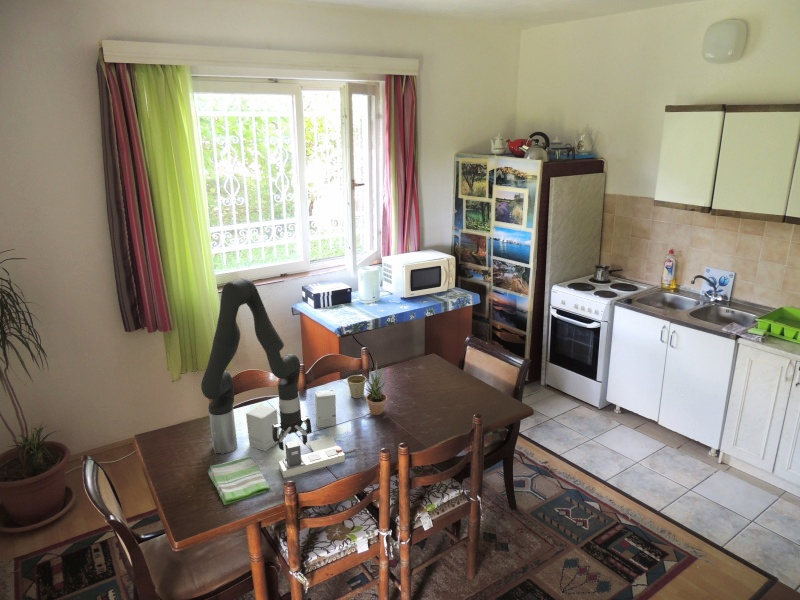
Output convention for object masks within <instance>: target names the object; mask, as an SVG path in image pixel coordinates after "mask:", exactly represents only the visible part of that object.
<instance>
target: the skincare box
mask: <svg viewBox="0 0 800 600" xmlns="http://www.w3.org/2000/svg"><path fill="white" fill-rule="evenodd" d="M314 398H315V399H314V400H315V401H314V402H315V422H316V426H317V428H318V429H321V428H327V427H335V426H337V410H336V409H337V408H336V406H337V403H336V402H337V401H336V393H335V391H334V389H329V390H328V389H326V390H320V391H319V390H318V391H315V392H314Z"/></svg>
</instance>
